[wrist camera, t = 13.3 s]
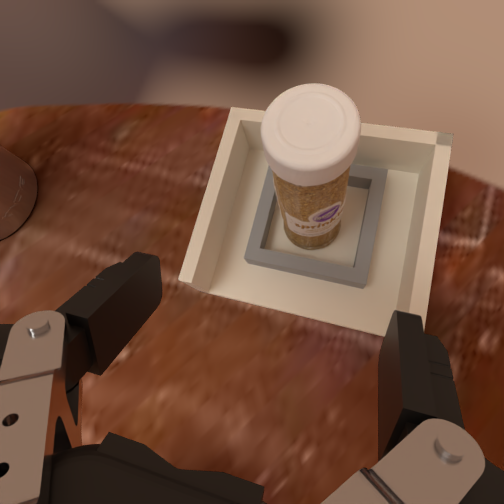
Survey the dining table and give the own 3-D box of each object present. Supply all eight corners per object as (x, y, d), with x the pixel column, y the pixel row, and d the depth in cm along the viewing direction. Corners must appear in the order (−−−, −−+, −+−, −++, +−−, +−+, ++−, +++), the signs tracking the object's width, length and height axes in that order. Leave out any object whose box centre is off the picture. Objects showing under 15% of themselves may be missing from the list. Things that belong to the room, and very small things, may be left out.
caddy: (199, 291, 30) (178, 280, 25) (243, 142, 33) (231, 106, 28) (403, 341, 26) (422, 339, 21) (430, 169, 29) (453, 133, 25)
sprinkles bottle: (310, 262, 28) (305, 188, 15) (271, 222, 29) (238, 123, 17) (353, 224, 28) (385, 119, 16) (313, 186, 30) (312, 61, 17)
